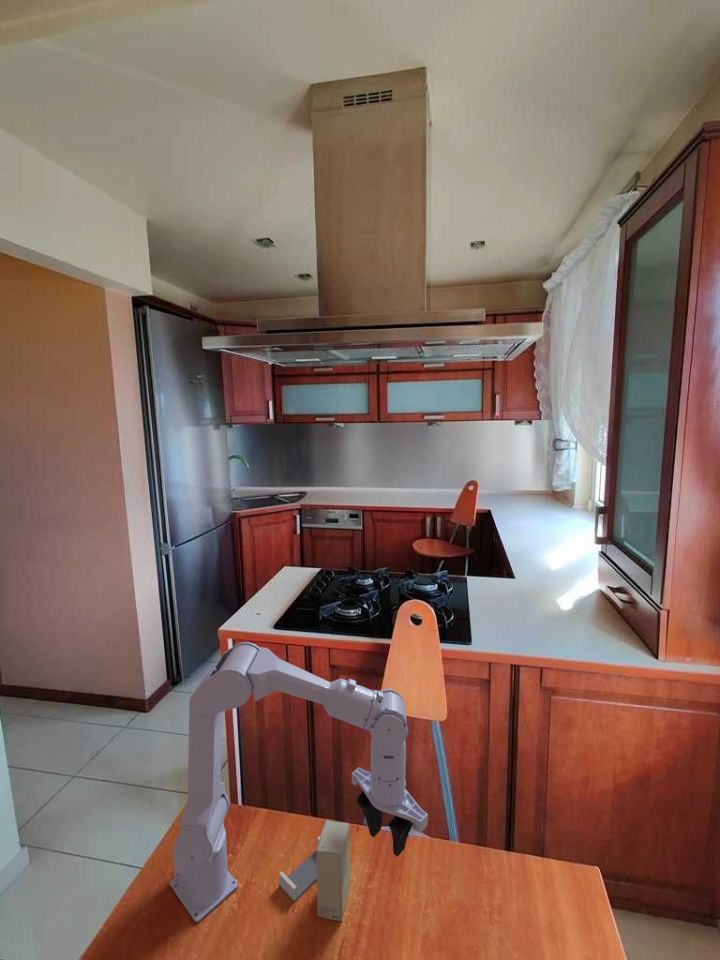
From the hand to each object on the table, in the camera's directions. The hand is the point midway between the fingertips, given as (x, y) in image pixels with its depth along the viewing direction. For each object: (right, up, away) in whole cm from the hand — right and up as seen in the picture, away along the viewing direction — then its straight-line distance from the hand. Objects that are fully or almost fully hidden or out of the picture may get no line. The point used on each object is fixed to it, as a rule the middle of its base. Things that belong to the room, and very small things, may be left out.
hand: (387, 841), depth 76 cm
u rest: (-14, -10, +5) cm, 18 cm away
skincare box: (-9, -11, +1) cm, 14 cm away
